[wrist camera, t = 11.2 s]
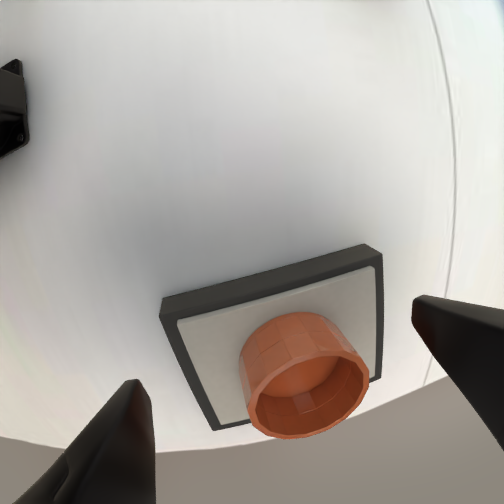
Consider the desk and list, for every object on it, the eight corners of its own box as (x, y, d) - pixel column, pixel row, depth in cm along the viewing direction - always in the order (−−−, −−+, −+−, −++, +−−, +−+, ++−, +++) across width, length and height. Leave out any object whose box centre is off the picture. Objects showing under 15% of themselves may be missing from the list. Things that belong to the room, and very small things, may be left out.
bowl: (251, 406, 19) (262, 450, 15) (225, 330, 17) (234, 375, 13) (343, 377, 19) (367, 414, 16) (337, 297, 17) (370, 331, 13)
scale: (211, 412, 22) (214, 439, 20) (162, 297, 19) (156, 321, 16) (368, 364, 24) (384, 385, 21) (364, 243, 20) (387, 256, 17)
